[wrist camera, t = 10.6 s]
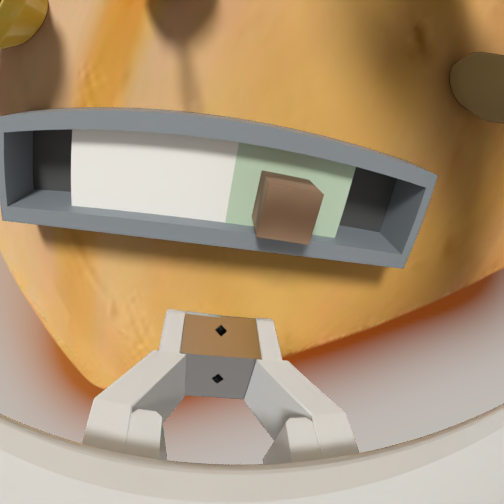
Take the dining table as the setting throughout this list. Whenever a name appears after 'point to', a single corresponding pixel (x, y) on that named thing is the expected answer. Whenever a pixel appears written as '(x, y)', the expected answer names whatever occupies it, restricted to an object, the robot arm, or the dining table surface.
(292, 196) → the walnut block
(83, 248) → the dining table surface
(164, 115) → the box
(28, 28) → the plant pot
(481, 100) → the squeeze bottle
